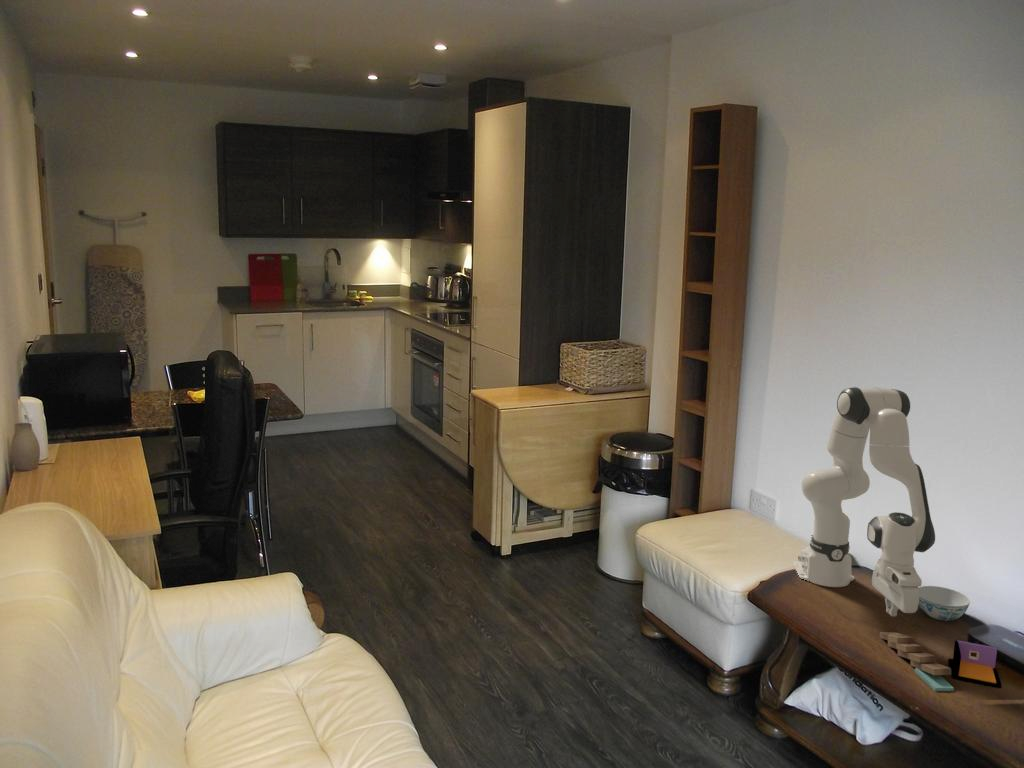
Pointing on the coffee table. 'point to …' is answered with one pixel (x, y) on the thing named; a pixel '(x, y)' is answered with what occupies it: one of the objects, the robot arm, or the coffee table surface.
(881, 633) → the domino
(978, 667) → the miniature room corner
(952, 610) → the chinaware
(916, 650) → the domino
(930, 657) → the domino
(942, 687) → the domino
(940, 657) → the coffee table surface
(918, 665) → the domino
